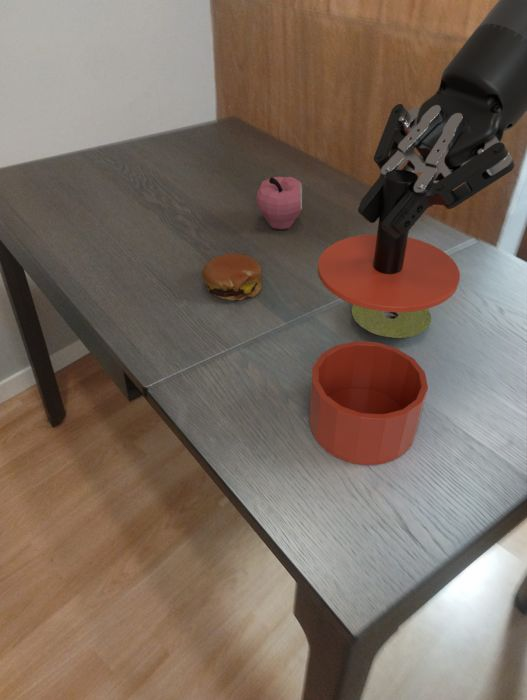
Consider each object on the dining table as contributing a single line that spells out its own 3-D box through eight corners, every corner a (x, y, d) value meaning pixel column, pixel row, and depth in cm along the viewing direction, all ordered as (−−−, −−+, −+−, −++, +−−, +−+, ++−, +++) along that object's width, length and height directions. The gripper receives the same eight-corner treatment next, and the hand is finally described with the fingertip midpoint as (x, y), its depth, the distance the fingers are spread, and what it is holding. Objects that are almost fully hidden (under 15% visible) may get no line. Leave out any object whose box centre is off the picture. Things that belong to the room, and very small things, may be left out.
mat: (352, 298, 83) (353, 288, 82) (426, 305, 82) (428, 294, 80) (348, 343, 75) (349, 332, 74) (431, 352, 73) (433, 340, 72)
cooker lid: (444, 245, 57) (466, 149, 50) (470, 321, 47) (501, 212, 40) (318, 242, 58) (323, 147, 51) (316, 315, 48) (322, 208, 41)
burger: (219, 267, 91) (217, 243, 88) (270, 277, 88) (270, 252, 85) (193, 298, 84) (190, 273, 81) (248, 310, 81) (247, 284, 78)
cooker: (408, 389, 68) (419, 343, 63) (422, 468, 58) (435, 421, 53) (310, 384, 69) (313, 339, 64) (308, 461, 59) (311, 415, 54)
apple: (298, 239, 98) (300, 187, 92) (252, 235, 100) (251, 183, 93) (305, 216, 105) (307, 166, 99) (263, 213, 107) (262, 163, 100)
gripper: (436, 9, 46) (310, 175, 50) (577, 35, 37) (408, 238, 40) (468, 69, 51) (352, 215, 55) (598, 105, 42) (448, 279, 45)
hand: (376, 224), depth 48 cm, fingers closed on cooker lid, 3 cm apart
